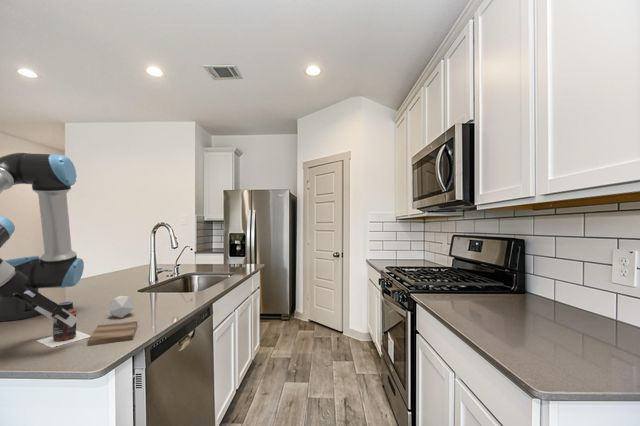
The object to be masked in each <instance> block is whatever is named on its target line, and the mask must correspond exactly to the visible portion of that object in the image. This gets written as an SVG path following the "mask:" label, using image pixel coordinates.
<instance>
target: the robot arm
mask: <svg viewBox="0 0 640 426" xmlns="http://www.w3.org/2000/svg"><path fill="white" fill-rule="evenodd" d="M76 183H77V170H76V167H75V165H74V163H73V161H72V160H71V158H69V157H67V156H66V155H62V154H56V153H55V154H54V153H52V154H51V153H29V152H28V153H27V152H15V153H11V154H10V153H9V154H7V155H4V156H3V155H2V156H0V194H1V193H2V192H4V191H6V190H9V189H11V188H13V186H15V185H31V190H32V191H33V192H34V193H36V194H37V196H38V206H39V213H40V215H39V216H40V223H41V232H42V241H43V250H44V253H43V254H42V255H41V256H39V255H32V256H31V255H30V256H23V257H18V258H17V257H16V258H10V259H6V260H4V259H3V258H1V257H0V322H9V321H18V320H25V319H29V318H33V317H36V316H40V315H43V316H45V317H47V318H48V319H50V320H51V321H53V317H54V316H55V317H56V318H58V319H60V320H61V321H63V322H64V323H66V324H67V325H69V326H71V327H72V326H73V325H74V324H75V323H76V324H77V322H78V321H79V320H80V319H79V318H78V317H77V316H76V317H75V316H74V315H72V314H71V313H69V312H68V311H66V310H65V309H63V307H62V306H60V305H58V304H59V303H56V302H55V301H53V300H52V299H50V298H48V297H47V296H45V295H43V294H41V292H39V289H55V288H57V289H58V288H62V289H64V288H71V287H75V286H76V285H77V284H78V283H79V282H80V280H82V279H81V278H82V276H83V274H84V268H85V267H84V265H85V264H84V263H85V262H84V261H83V260H84V259H82V258H80V257H77V256H78V254H77V252H76V251H74V250H73V249H72V241H71V229H70V217H69V207H68V206H69V205H68V196H67V194H68V192H69V191H70V190H72V187H71V186H73V185H75V184H76ZM15 229H16V227H15V224H14V222H13V221H12V220H11V219H9V218H7V217H5V216H2V215H0V249H1V248H2V247H3V246H4V245H5V244H6V242H8V241H9V240H10V239H11V237H12V235H13V233H14V232H15Z"/></svg>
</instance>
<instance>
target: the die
mask: <svg viewBox="0 0 640 426" xmlns="http://www.w3.org/2000/svg"><path fill="white" fill-rule="evenodd" d="M132 301H133V300H131V298H130V296H126V295H125V296H124V295H119V296H116V297H115V298H113V299H112V300H111V301H110V302H109V303H108V304H107V305H108V313H109V315H111V316H112V317H114V318H119V319H123V318H124V317H126V316H128V314H129V315H130V312H132V311H133V310H134V305H133V302H132Z"/></svg>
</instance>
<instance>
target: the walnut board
mask: <svg viewBox="0 0 640 426" xmlns="http://www.w3.org/2000/svg"><path fill="white" fill-rule="evenodd" d="M137 327H138V320H131V321H126V322H115V323H109V324H107V323H106V324H98V325H97V326H96V328H95V329H94V331H93V332H92V333H91V334H90V337H89V338H87V346H88V347H89V346H95V345H104V344H110V343H118V342H119V343H120V342H127V341H133V339H134V337H135V333H136V330H137Z"/></svg>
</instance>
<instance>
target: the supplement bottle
mask: <svg viewBox="0 0 640 426" xmlns="http://www.w3.org/2000/svg"><path fill="white" fill-rule="evenodd" d="M57 304H58V305H60V306H62V307H63V309H65V310H66V311H68V312H69V313H71V314H72V315H74V316H75V317H77V309H76V308H75V307H74V302H73V301H64V302H63V301H62V302H59V303H57ZM52 326H53V327H52V336H53V340H55V341H63V340H68V339H71V338H73V337H75V336H76V331H77V322H76V323H75V324H74V325H73V326H72V327H71V326H69V325H67V324H66V323H64V322H63V321H61V320H60V319H58V318H56V317H55V316H54V317H53V320H52Z"/></svg>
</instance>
